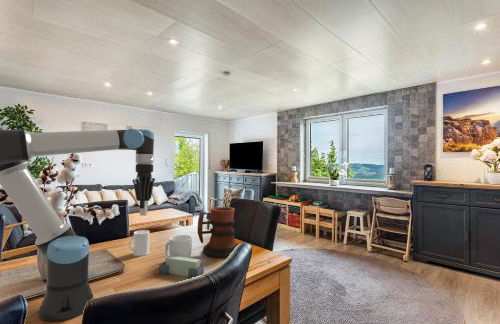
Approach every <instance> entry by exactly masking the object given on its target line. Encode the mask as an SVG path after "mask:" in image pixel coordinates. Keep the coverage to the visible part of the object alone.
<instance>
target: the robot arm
mask: <svg viewBox="0 0 500 324" xmlns="http://www.w3.org/2000/svg"><path fill="white" fill-rule="evenodd" d="M154 133H155V132H154V131H153V130H151V129H146V128H145V129H143V128H141V129H140V128H139V129H136V128H128V129H108V130H105V129H103V130H102V129H101V130H77V131H75V130H74V131H73V130H71V131H50V132H49V131H45V132H44V131H43V132H42V131H41V132H30V131H27V129H3V128H0V186H1V188H2V189H3V191H5V193H6V195H7V197H9V199H10V201H12V204H13V205H14V206H15V207H16V209H17V211H18V213H19V214H20V215H21V216H22V218H23V219H24V220H25V222H26V224H27V225H28V227H29V228H30V229H31V230H32V232H33V234H34V235H35V236H36V239H35V242H34V245H35V247H37V249H38V250H39V252H40V254H41V255H42V256H43V258H44V259H45V262H46V263H45V264H46V290H45V291H46V292H45V293H44V296H43V299H42V302H41V305H40V306H39V309H38V310H39V311H38V318H39V319H40V320H41V321H42V322H43V321H44V322H48V321H51V322H52V321H54V322H61V321H66V320H70V319H73V318H76V317H78V316H80V315H83V314H84V313H83V310H84V307H85V305H86V303H87V301H89V300H91V299H93V300H94V294H93V292H92V288H91V286H90V284H89V255H90V254H89V253H90V243H89V240H88V238H86V237H85V236H80V235H77V234H76V232H75V231H74V229H73V228H72V226H71V225H70V224H68V223H63V221H62V220H61V218H60V216H59V214H58V213H57V212H56V210H55V208H54V207H53V206H52V203H50V201H49V199H48V198H47V196H46V194H45V193H44V192H43V190H42V188H41V187H40V186H39V184H38V182H37V181H36V179H35V178H34V176H33V174H32V173H31V172H30V170H29V169H28V166H29V163H30V161H31V160H32V158H34V157H44V156H53V155H54V156H57V155H69V154H80V153H93V152H104V151H116V150H117V151H118V150H123V151H127V150H128V151H135V172H136V178H134V179H132V183H133V187H134V193H135V200H136V201H138V202H139V215H140V216H143V217H145V216H148V207H149V206H148V205H149V201H151V199H152V195H153V189H154V183H155V181H156V178H154V177H153V175H152V173H153V172H154V164H153V163H154V149H155V146H154V145H155V144H154V143H155V134H154Z"/></svg>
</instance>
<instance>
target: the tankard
mask: <svg viewBox="0 0 500 324" xmlns="http://www.w3.org/2000/svg"><path fill="white" fill-rule="evenodd" d="M235 211H236V209H235V208H234V207H228V206H215V207H211V208H210V215H211V216H210V217H211V219H210V221H204V216H205V212H204V211H203V210H202V211H199V214H198V215H199V216H198V219H197V236H198V238H199V241H200V243H201V244H204V237H203V236H204V235H206V234H207V235H208V234H211V235H210V238H209V241H208V242H207V243H206V245H204V246H203V248H202V255H204V256H205V257H207V258H212V259H215V260H216V259H219V260H220V259H226V258H227V257H228V256H229V254H230V253H231V252H232V251H233V250H234V248H235V247H236V246H237V245H239V244H238V243H237V242H236V239H235V228H233V225H235V219H234V216H235ZM204 225H212V228H210V229H209V230H204V229H203V227H204ZM227 259H228V258H227Z"/></svg>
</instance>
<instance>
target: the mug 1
mask: <svg viewBox="0 0 500 324" xmlns="http://www.w3.org/2000/svg"><path fill="white" fill-rule="evenodd" d="M132 241H133V248H132V247H131V242H132ZM128 248H129V250H131V251H133V252H132V255H133V256H135V257H143V256H147V255H150V230H148V229H143V230H142V229H140V230H136V231H134V232H133V236H131V238H130V240H129V242H128Z"/></svg>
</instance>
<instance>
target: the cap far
mask: <svg viewBox="0 0 500 324" xmlns="http://www.w3.org/2000/svg"><path fill="white" fill-rule="evenodd" d="M165 263H166V260H164V261H163V262H161V263H159V265H158V275H165V276H168V275H169V273H168V265H165Z"/></svg>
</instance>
